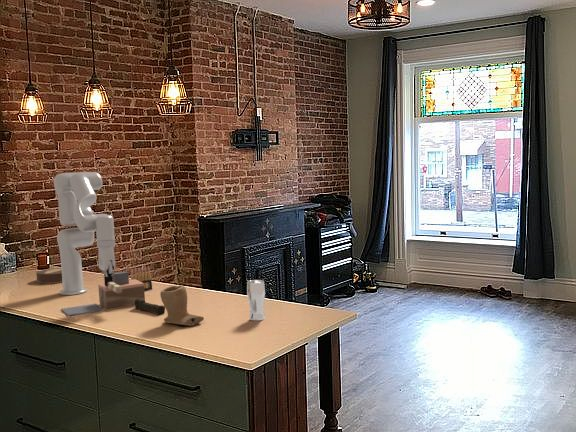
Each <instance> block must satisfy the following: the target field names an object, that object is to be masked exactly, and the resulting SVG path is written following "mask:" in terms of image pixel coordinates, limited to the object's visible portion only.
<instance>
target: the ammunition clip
mask: <svg viewBox="0 0 576 432" xmlns="http://www.w3.org/2000/svg"><path fill="white" fill-rule="evenodd" d="M151 276H152V275H151V269H150V265H148V266H144V267H143V266H141V268H140V267H137V268H136V267H134V269H133V268H130V280H133V279H136V280H138V281H140V282H142V283H144V292H146V291H151V290H153V283H152V277H151Z"/></svg>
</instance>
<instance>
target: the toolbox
mask: <svg viewBox="0 0 576 432" xmlns="http://www.w3.org/2000/svg"><path fill="white" fill-rule="evenodd" d="M98 297H99V298H98V302H99V306H100V307H102V308H103V309H105V310H108V311H109V310H112V309H113V310H114V309H118V308H119V309H120V308H125V307H131V306H135V300H136V299H141V300H145V301H146V296H145V291H144V286H140V287H133V288H126V289H122V293H116V292H114V291H104V290H103V289H101V288H99V287H98Z"/></svg>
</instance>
